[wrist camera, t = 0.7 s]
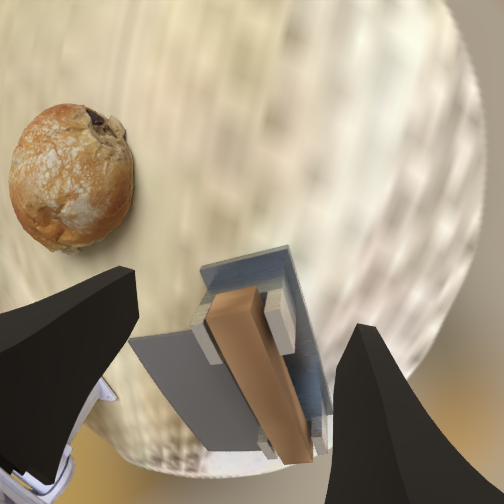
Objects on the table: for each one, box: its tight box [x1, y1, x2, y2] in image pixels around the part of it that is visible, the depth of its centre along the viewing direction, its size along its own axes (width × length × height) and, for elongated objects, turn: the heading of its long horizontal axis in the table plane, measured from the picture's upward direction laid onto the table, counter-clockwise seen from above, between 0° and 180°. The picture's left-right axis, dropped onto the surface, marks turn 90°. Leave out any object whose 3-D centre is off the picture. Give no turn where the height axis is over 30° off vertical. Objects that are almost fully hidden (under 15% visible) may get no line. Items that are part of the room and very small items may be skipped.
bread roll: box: [9, 104, 134, 254], centre depth 17 cm, size 10×10×8 cm
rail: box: [205, 286, 313, 465], centre depth 19 cm, size 2×16×2 cm, turn 18°
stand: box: [189, 245, 333, 459], centre depth 21 cm, size 6×17×6 cm, turn 18°
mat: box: [128, 330, 262, 451], centre depth 27 cm, size 8×18×1 cm, turn 18°
